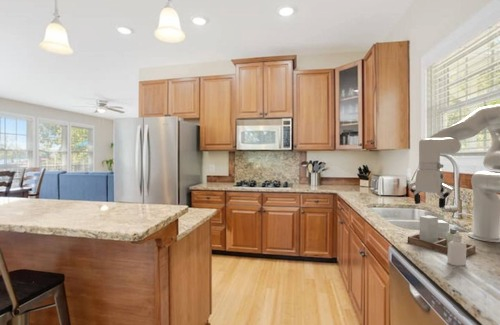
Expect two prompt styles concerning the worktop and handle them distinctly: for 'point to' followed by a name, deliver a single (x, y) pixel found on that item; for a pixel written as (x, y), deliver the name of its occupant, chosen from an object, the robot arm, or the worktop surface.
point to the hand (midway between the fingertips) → (429, 205)
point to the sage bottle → (450, 235)
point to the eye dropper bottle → (456, 251)
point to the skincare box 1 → (429, 228)
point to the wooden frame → (437, 244)
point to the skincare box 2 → (443, 228)
